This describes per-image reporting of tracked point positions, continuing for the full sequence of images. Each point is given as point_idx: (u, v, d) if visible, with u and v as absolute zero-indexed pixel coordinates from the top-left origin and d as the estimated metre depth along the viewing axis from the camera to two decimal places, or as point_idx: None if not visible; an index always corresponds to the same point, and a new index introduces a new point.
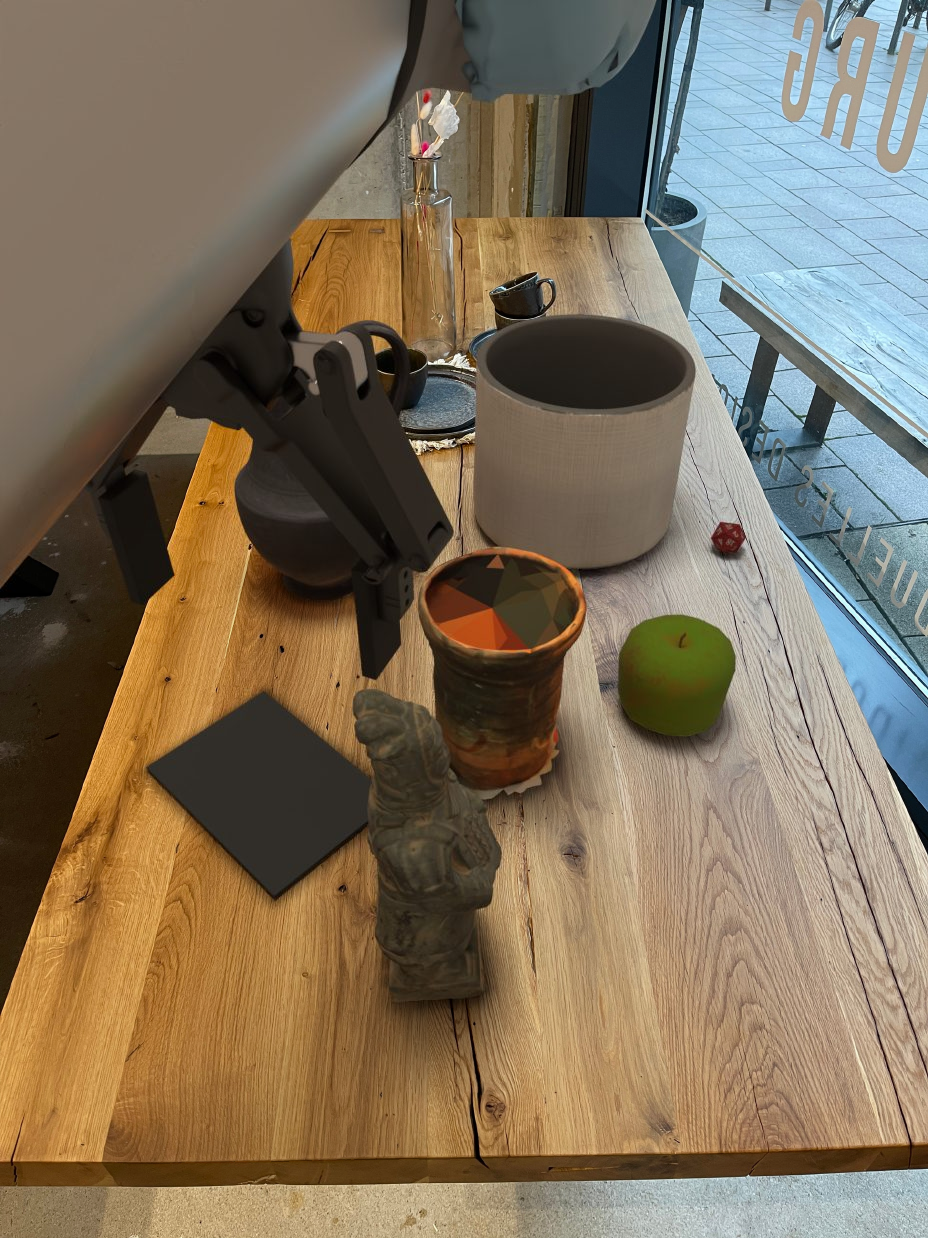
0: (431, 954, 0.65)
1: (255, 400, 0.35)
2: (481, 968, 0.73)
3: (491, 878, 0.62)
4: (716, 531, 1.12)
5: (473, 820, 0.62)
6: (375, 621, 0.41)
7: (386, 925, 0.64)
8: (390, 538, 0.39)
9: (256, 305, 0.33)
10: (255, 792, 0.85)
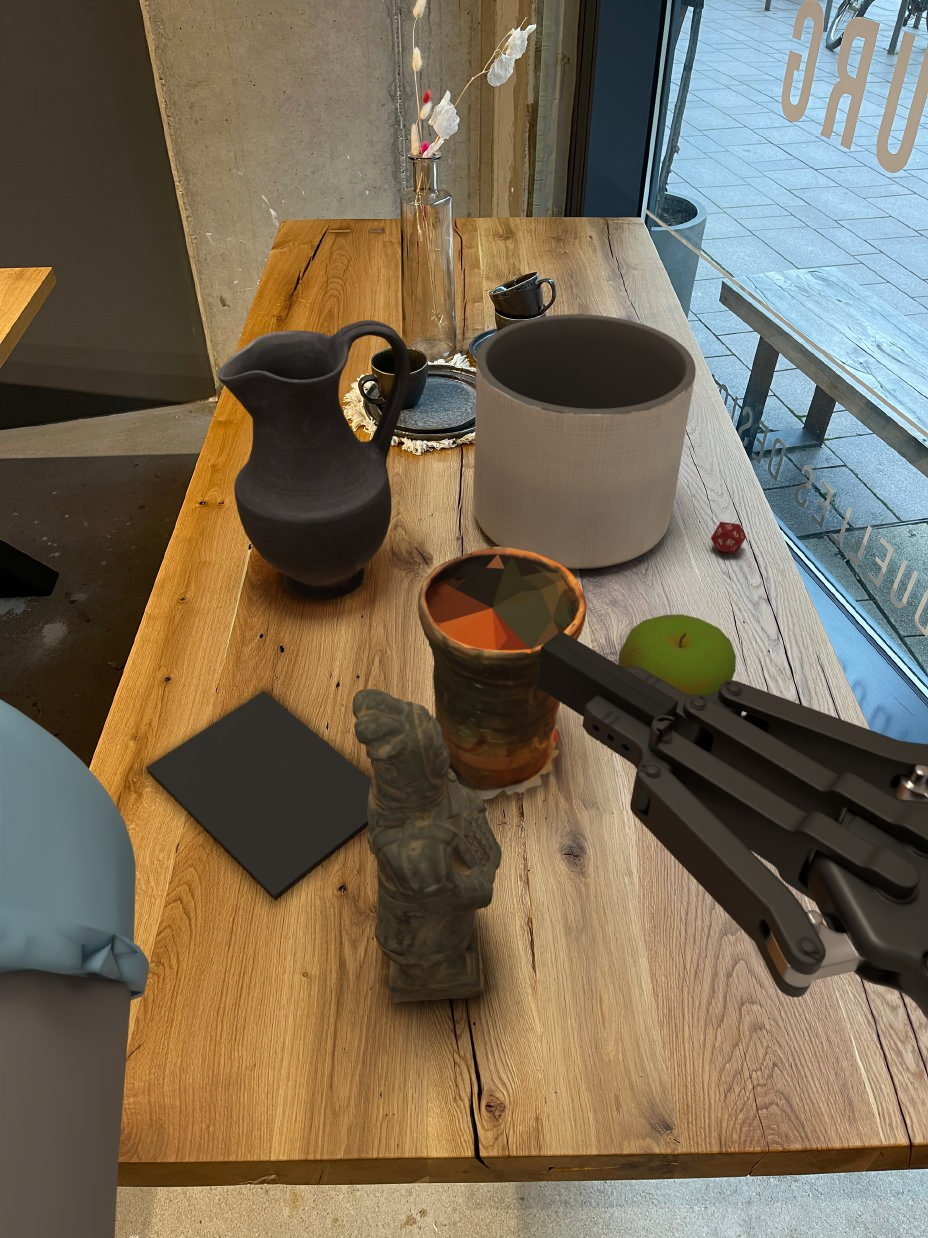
0: (431, 954, 0.65)
1: (841, 861, 0.33)
2: (481, 968, 0.73)
3: (491, 878, 0.62)
4: (716, 531, 1.12)
5: (473, 820, 0.62)
6: (599, 690, 0.40)
7: (386, 925, 0.64)
8: None
9: None
10: (255, 792, 0.85)
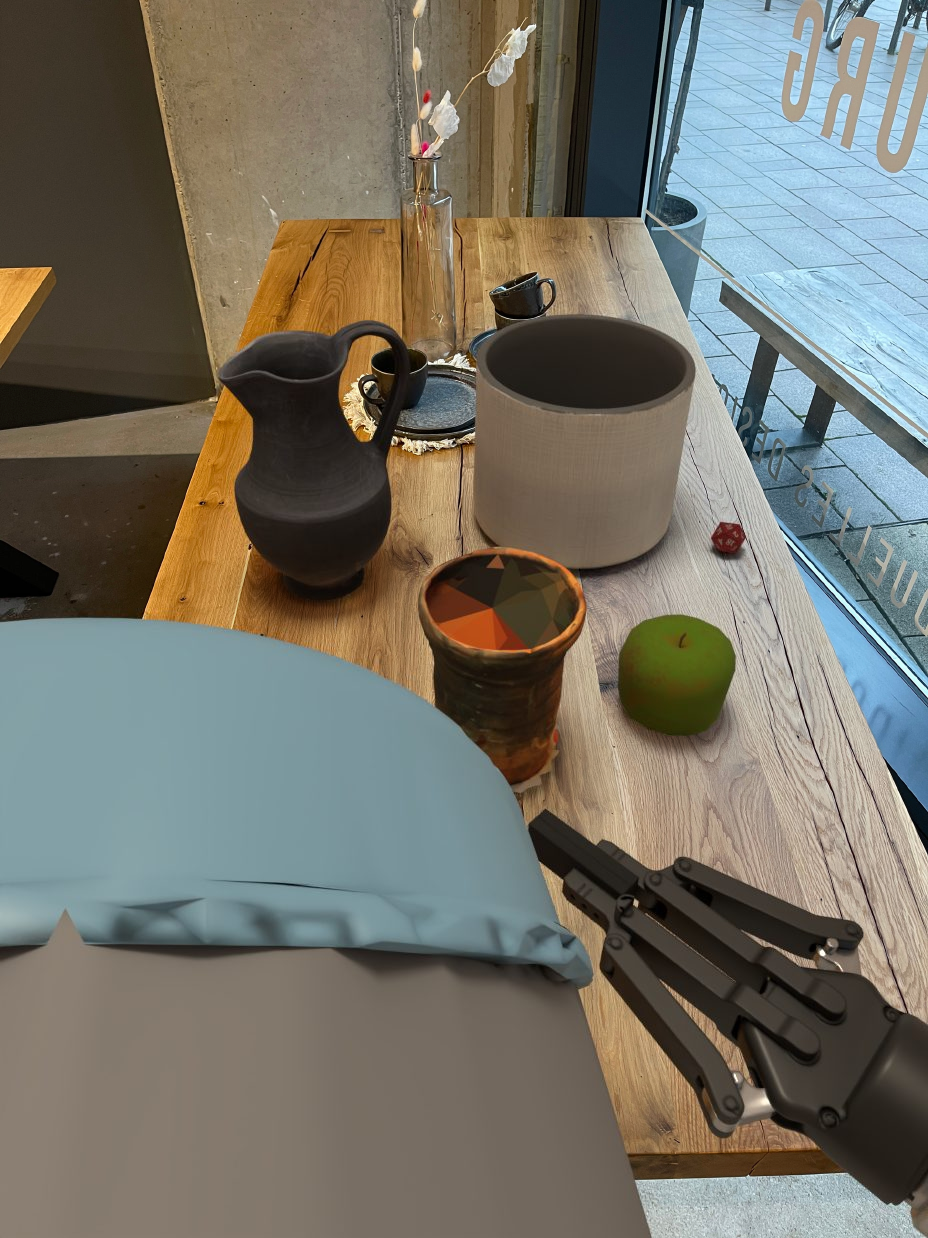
0: None
1: (761, 1028, 0.43)
2: None
3: None
4: (716, 531, 1.12)
5: None
6: (576, 864, 0.50)
7: None
8: None
9: (836, 1132, 0.39)
10: None
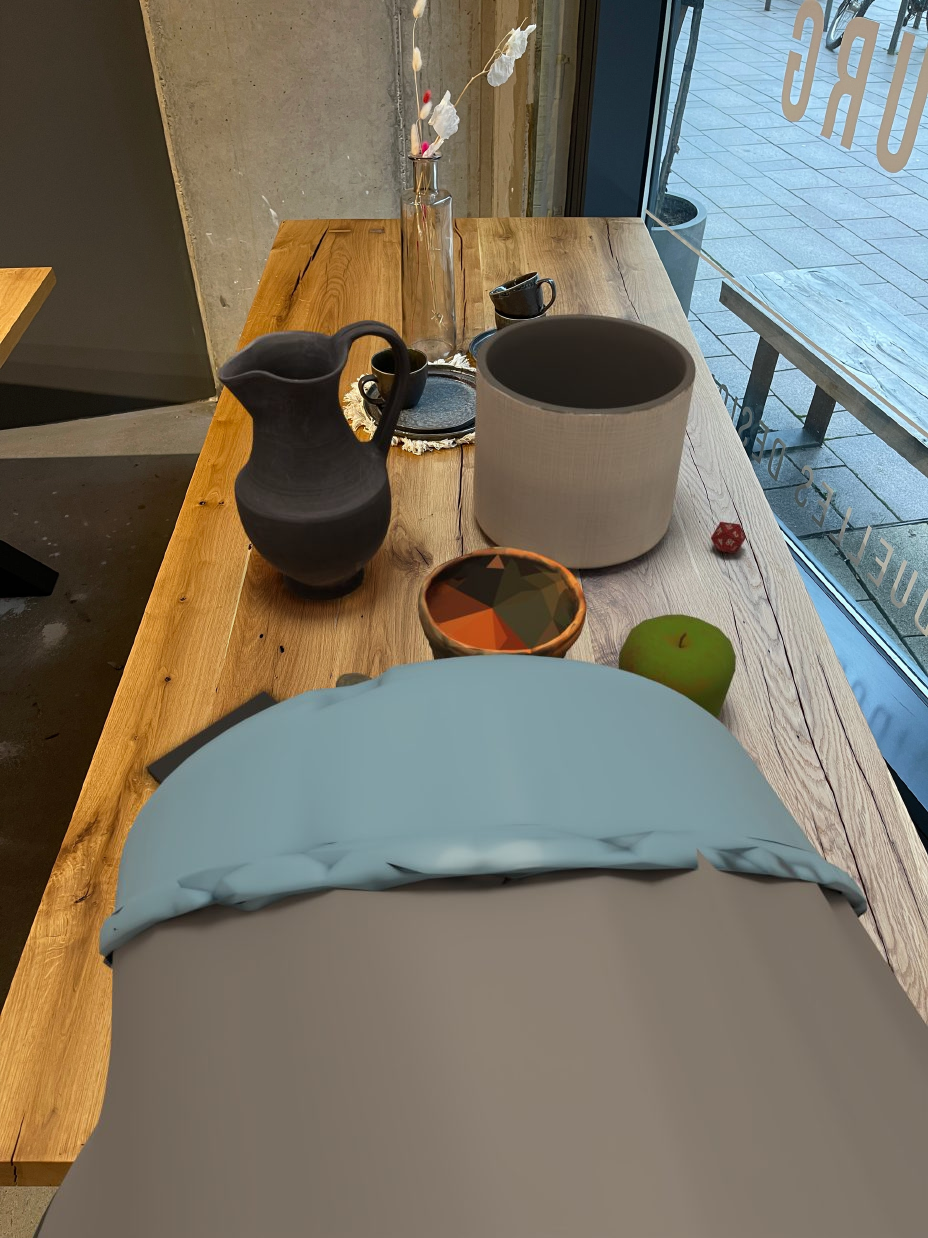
0: None
1: None
2: None
3: None
4: (716, 531, 1.12)
5: None
6: None
7: None
8: None
9: None
10: None
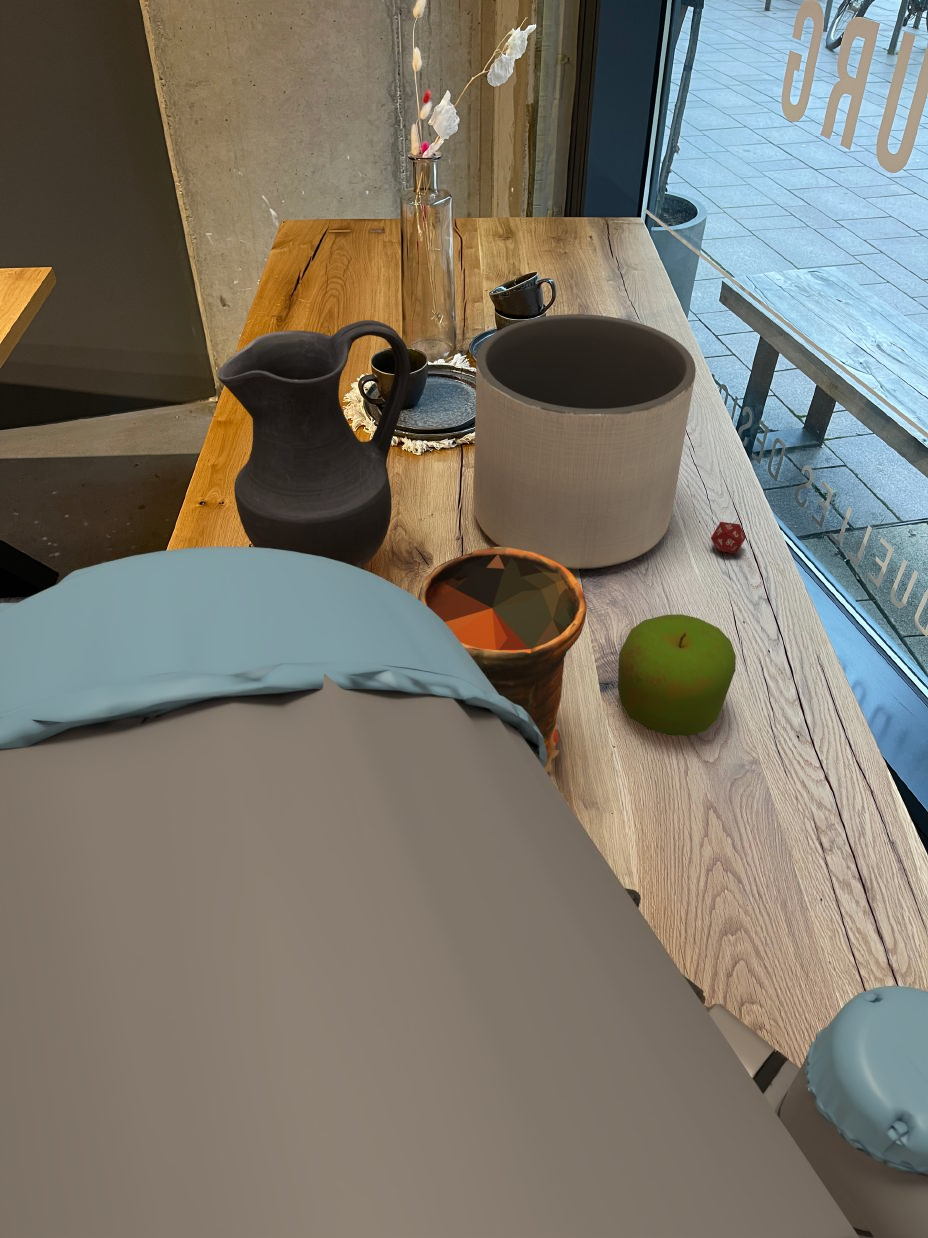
0: None
1: None
2: None
3: None
4: (716, 531, 1.12)
5: None
6: None
7: None
8: None
9: None
10: None
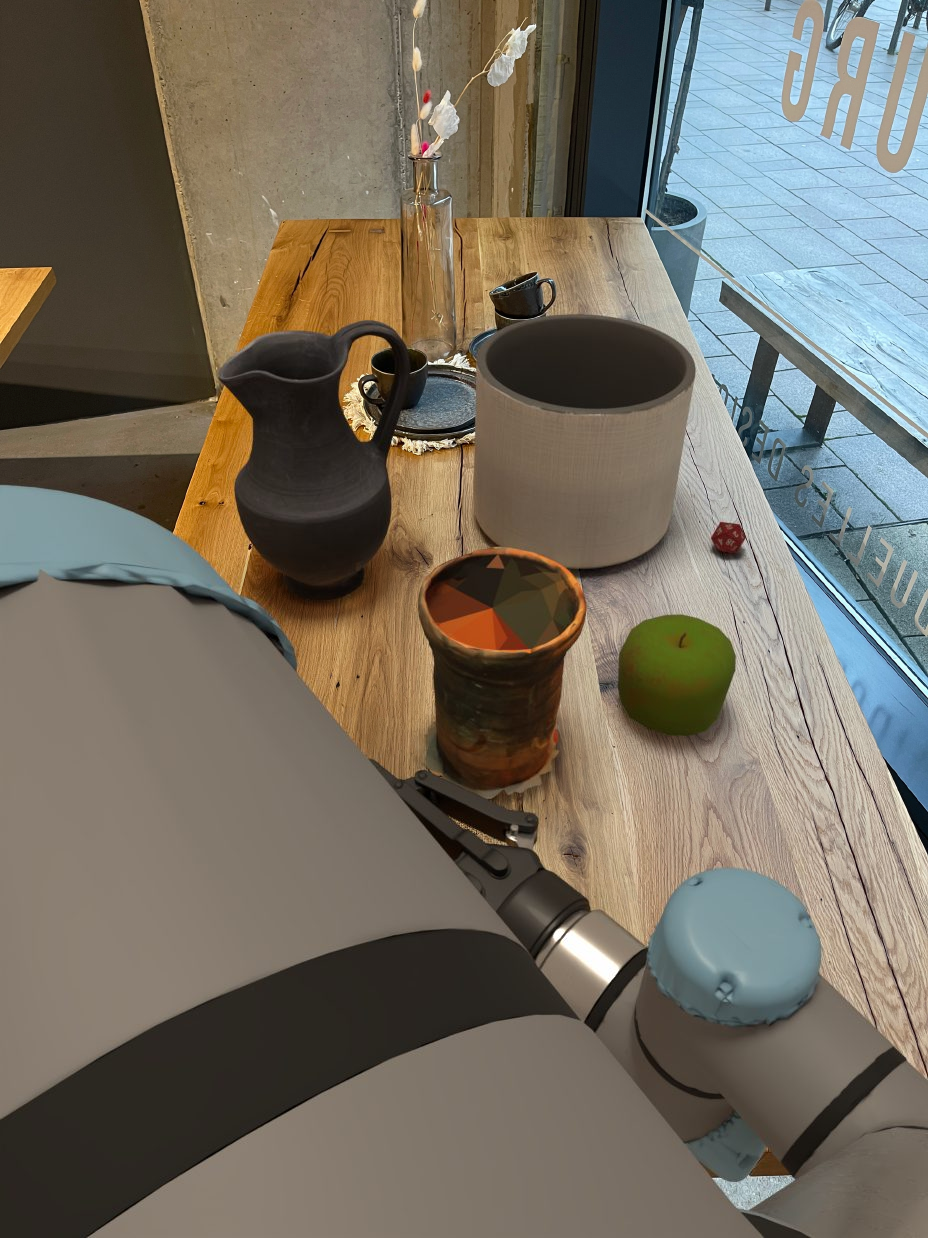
0: None
1: None
2: None
3: None
4: (716, 531, 1.12)
5: None
6: None
7: None
8: None
9: None
10: None
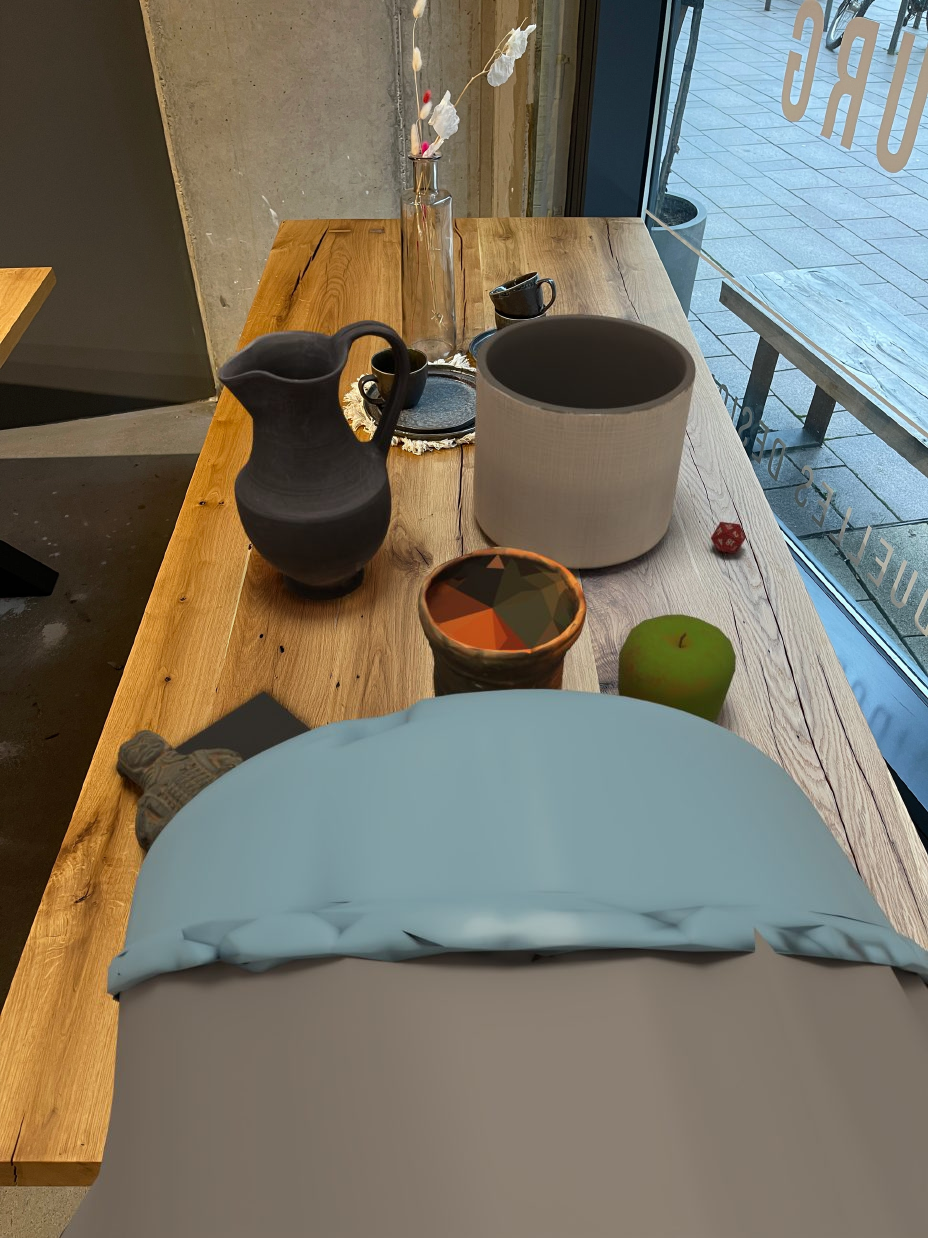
0: None
1: None
2: None
3: None
4: (716, 531, 1.12)
5: (174, 782, 0.78)
6: None
7: None
8: None
9: None
10: None
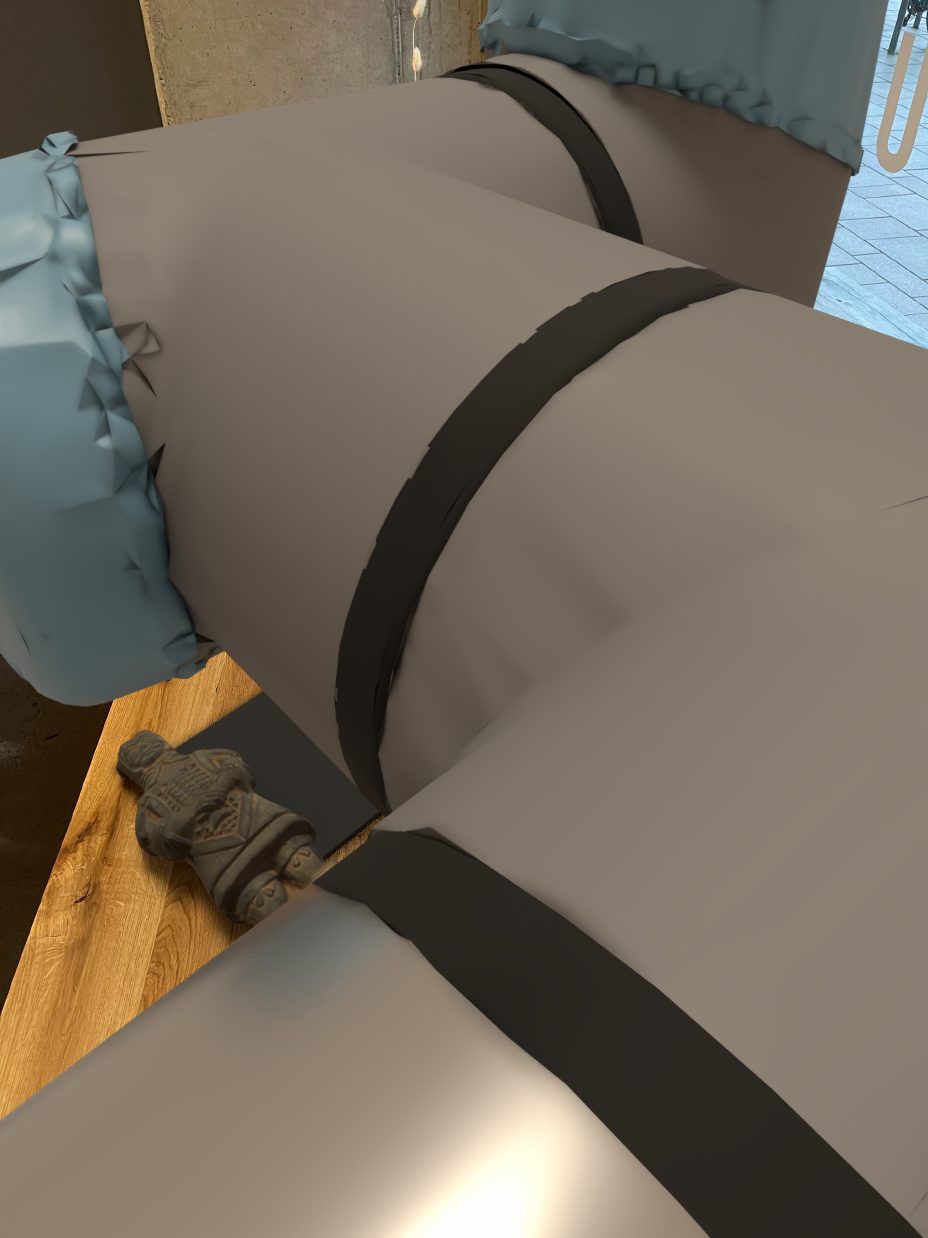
0: (215, 903, 0.74)
1: None
2: None
3: (173, 818, 0.74)
4: None
5: (174, 782, 0.78)
6: None
7: None
8: None
9: None
10: (255, 792, 0.85)
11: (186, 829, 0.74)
